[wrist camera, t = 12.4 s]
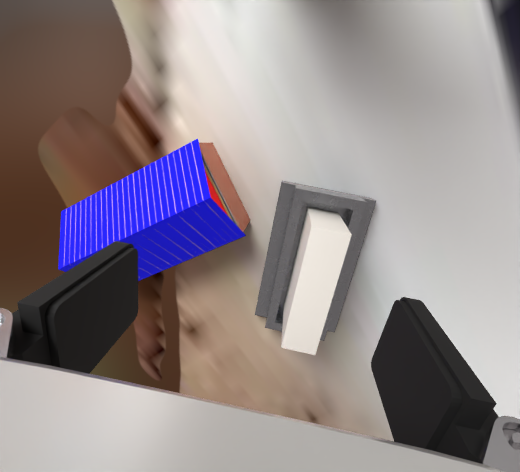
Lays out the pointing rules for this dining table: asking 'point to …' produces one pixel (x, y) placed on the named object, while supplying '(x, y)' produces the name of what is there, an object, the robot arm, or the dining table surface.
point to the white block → (313, 279)
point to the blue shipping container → (158, 212)
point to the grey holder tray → (287, 240)
